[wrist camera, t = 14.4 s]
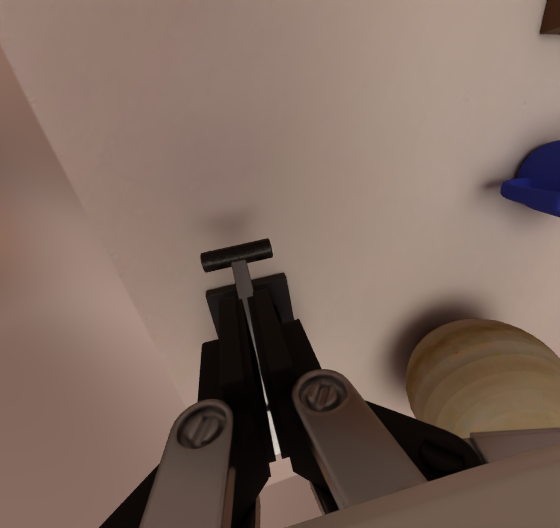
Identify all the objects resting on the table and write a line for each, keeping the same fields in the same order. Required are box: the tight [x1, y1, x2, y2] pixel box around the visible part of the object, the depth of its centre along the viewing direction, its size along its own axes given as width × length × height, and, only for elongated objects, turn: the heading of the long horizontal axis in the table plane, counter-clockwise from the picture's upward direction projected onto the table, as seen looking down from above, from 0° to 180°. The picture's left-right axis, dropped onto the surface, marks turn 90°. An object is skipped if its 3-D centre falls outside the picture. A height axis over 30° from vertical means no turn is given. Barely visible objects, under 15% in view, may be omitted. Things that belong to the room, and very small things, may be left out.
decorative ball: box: [406, 318, 560, 438], centre depth 32 cm, size 15×15×15 cm
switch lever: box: [200, 238, 281, 456], centre depth 22 cm, size 14×5×2 cm, turn 10°
